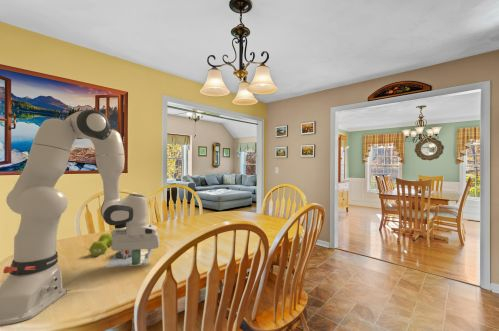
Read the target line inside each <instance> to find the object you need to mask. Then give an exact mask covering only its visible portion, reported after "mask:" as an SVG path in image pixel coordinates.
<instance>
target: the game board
mask: <svg viewBox="0 0 499 331" xmlns="http://www.w3.org/2000/svg"><path fill="white" fill-rule="evenodd" d="M153 250H154V249H151V251H150V253H149V258H150V256H151V255H152V252H153ZM124 252H125V254H126V255H128V256H127V257H128V258H127V259H126V260H123V256H122V254H121V250H119V252H118V253H117V252H115V255H114V256H113V257H112V258H111V260H110V261H109V262H108V263H107V264H106V265H104V268H117V267H133V266H134V267H135V266H145V265H146V264H147V262H148V261H149V258H145V254H146V253H148V252H149V251H147V249H141V263H140V264H137V265H132V250H131V252H130V250H125V251H124Z"/></svg>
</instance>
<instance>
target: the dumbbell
mask: <svg viewBox="0 0 499 331" xmlns="http://www.w3.org/2000/svg"><path fill="white" fill-rule="evenodd" d="M112 241H113V238H112V235H111V233H104V234H101V235H100V236H99V238H98V240H97V241H94V242H93V243H92V244H91V246H90V247H89V249H88V250H89V253H90V254H91V255H92V257H99V256H103V255H105V253H106V252H107V250H108V248H111V247H112Z"/></svg>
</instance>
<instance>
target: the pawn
mask: <svg viewBox="0 0 499 331" xmlns="http://www.w3.org/2000/svg"><path fill="white" fill-rule="evenodd" d="M140 263H141V249H139V250H132V265H135V266H138V265H137V264H140Z"/></svg>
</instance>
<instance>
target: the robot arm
mask: <svg viewBox="0 0 499 331" xmlns="http://www.w3.org/2000/svg"><path fill="white" fill-rule="evenodd" d="M83 139H85V140H86V139H87V140H89V141H91V143H92V146H94V147H93V148H94V155H95V163H96V168H97V172H98V173H99V175H100V177H101V180H102V184H103V185H102V186H103V188H102V189H103V202H102V204H101V206H100V215H101V217H102V218H103V220H104V222H105V223H106V224H107V225H109V226H115V225H120V224H124V223H126V229H122V230H115V229H114V230H115V231H113V230H112V231H113V233H112V238H113V241H112V245H111V250H112V251H113V252H114V251H115V252H117V251H119V250H121V254H122V256H123V260H126V259H127V258H128V257H127V256H128V255H126V254H125V252H124V251H125V250H139V249H147V251H149V252H148V253H146V254H145V258H150V257H149V253H150V251H151V249H153V250H156V249H158V248H159V247H160V245H161V240H160V234H159V232H158V226H157V225H155V224H154V225H153V224H150V223H148V219H147V214H148V200H147V198H146V197H145V195H142V194H139V193H138V194H137V193H130V194H128V195H127V196H125V197H124V198H122V199H121V196H120V183H119V182H120V176H121V175H122V173H123V171H125V170H124V169H125V161H126V159H125V156H126V155H125V148H124V144H123V139H122V136H121V133H120V132H119V131H117V130H115V129H113V128H112V126H111V124H110V122H109V119H108V118H107V116H106V115H105V114H104V113H103V112H102V111H99V110H97V109H91V108H90V109H83V110H79V111H76V112H74V113H72V114H69V115H67V116H66V117H65V118H64V119H60V118H49V119H48V118H47V119H45V120H44V121H43V122H42V123H41V125H40V126H39V127H38V130H37V132H36V134H35V136H34V138H33V141H32V144H31V147H30V150H29V153H28V156H27V160H26V163H25V166H24V168H23V169H22V171H21V173H20V175H19V177H18V178H17V180H16V181H15V183H14V186H13V188H12V190H11V189H10V191H9V192H8V194H7V195H6V199H5V200H6V204H7V206H8V207H9V209H10V210H11V211H12V212H13V213H15V214H17V215H20V222H19V227H18V230H17V232H16V234H15V235H14V238H13V240H14V241H13V259H12V261H11V263H10V266H5V267H4V268H3V269H2V271H3V272H2V273H3V274H8V275H7V278H6V279H5V280H3V281H4V282H3V283H1V285H0V326H2V325H9V324H14V323H18V322H23V321H27V320H30V319H32V318H34V317H35V316H37V315H38V314H39V313H41V312H42V311H43V310H45V309H47V307H49V306H51V305H52V304H53V303H54V302H56V301H57V300H59V299H60V298H61V297H63V296H64V295H65V294H67V288H64V285H63V276H62V275H63V274H62V269H61V268H60V267H59V266H58V264H57V263H58V261H59V260H58V259H59V254H58V251H57V233H58V228H59V223H60V221H61V218H62V214H63V213H64V212H65V211H66V209H67V207H68V203H69V202H68V198H67V196H66V195H65V194H64V193H63V192H61V191H60V190H59V189H58V188H55V186H56V184H57V183H58V181H59V180H60V178H61V177H62V176H63V175H64V174H65V172H66V170H67V166H68V164H69V163H68V162H69V160H70V159H69V158H70V155H71V152H72V148H73V144H74V143H75V141H76V140H83Z"/></svg>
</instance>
